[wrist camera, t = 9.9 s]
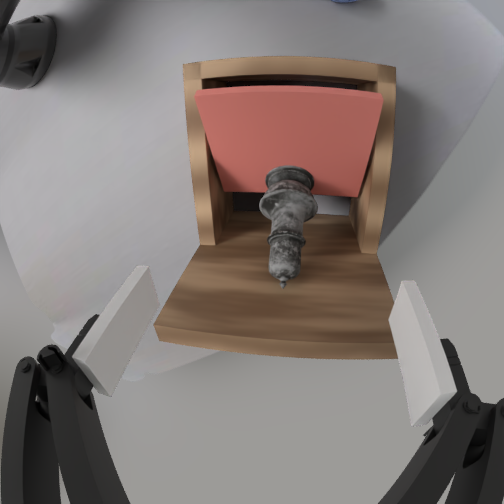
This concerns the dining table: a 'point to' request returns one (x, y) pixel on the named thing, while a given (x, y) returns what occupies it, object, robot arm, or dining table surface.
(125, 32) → the dining table surface
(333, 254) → the wooden box
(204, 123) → the trapdoor
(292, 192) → the salt shaker
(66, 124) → the dining table surface
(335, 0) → the decorative dice
